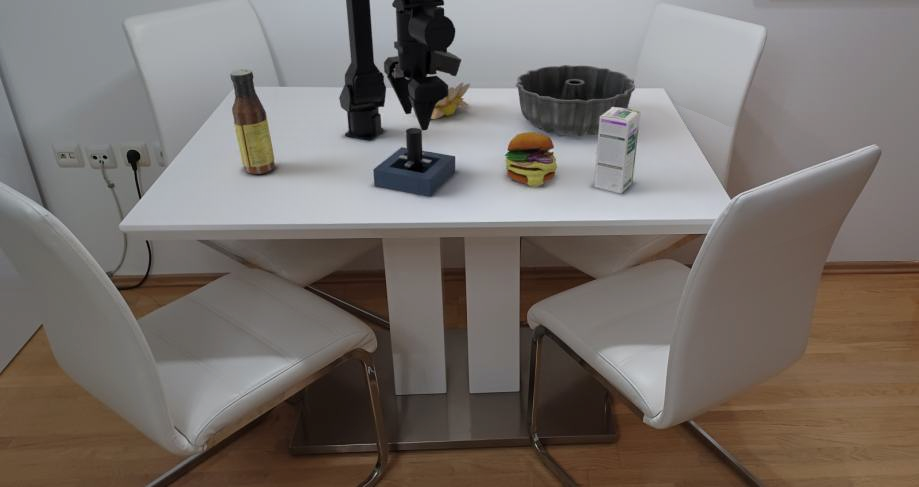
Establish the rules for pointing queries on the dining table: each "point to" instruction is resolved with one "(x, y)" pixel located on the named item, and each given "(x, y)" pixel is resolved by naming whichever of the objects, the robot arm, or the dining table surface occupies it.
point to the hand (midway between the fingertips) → (416, 121)
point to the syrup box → (616, 149)
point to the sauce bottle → (251, 125)
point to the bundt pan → (571, 97)
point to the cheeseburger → (531, 159)
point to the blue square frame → (414, 173)
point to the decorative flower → (451, 101)
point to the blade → (414, 151)
